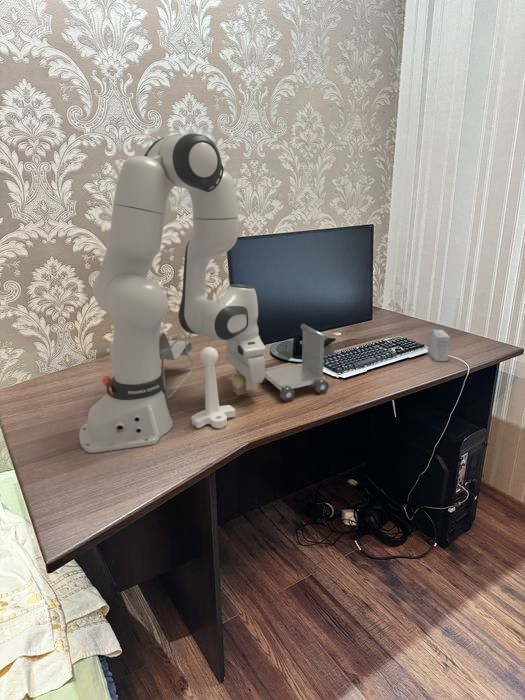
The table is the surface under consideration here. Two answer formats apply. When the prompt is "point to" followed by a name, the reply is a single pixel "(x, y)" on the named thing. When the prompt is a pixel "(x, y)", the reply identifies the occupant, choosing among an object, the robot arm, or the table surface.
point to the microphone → (329, 340)
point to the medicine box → (439, 345)
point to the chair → (174, 353)
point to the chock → (241, 385)
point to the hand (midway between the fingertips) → (244, 385)
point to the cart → (302, 367)
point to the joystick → (212, 395)
